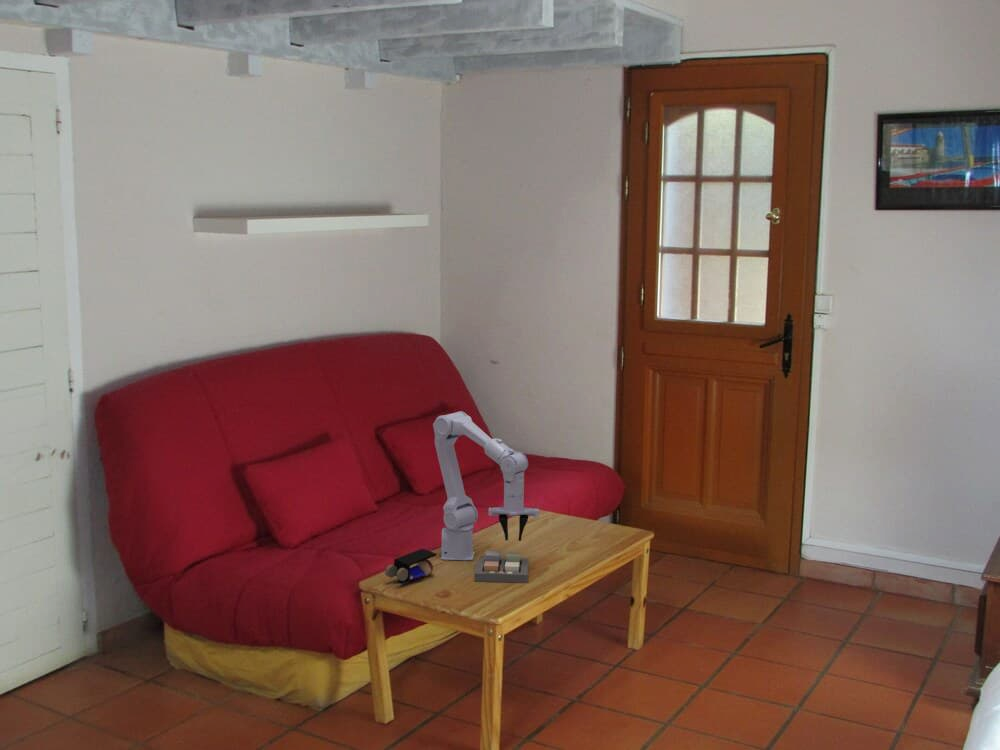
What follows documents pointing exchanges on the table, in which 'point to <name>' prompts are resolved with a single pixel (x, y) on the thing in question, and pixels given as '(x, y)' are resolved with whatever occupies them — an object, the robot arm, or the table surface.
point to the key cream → (511, 566)
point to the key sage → (513, 557)
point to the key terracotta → (491, 566)
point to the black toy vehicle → (404, 562)
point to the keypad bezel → (502, 572)
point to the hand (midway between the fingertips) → (513, 539)
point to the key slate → (492, 556)
